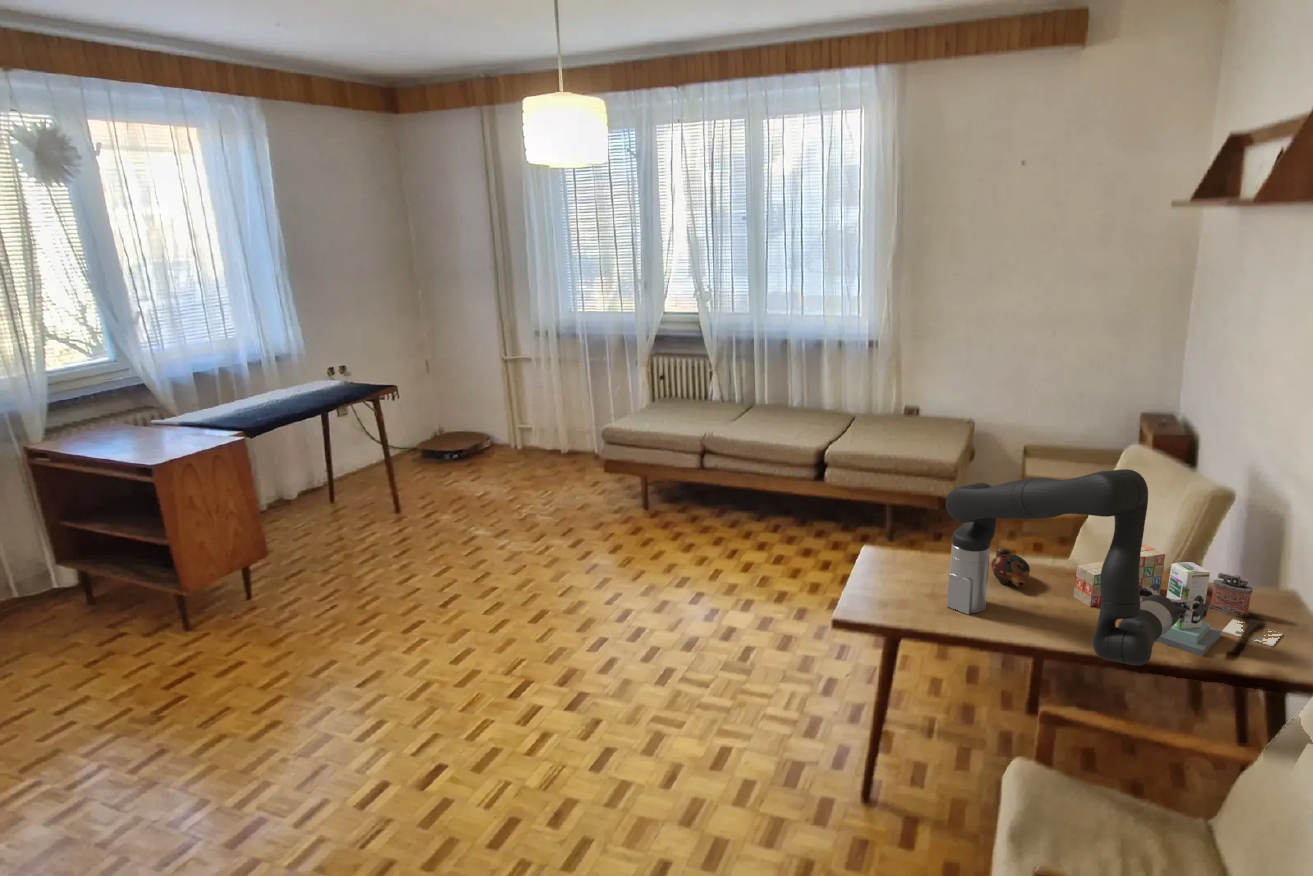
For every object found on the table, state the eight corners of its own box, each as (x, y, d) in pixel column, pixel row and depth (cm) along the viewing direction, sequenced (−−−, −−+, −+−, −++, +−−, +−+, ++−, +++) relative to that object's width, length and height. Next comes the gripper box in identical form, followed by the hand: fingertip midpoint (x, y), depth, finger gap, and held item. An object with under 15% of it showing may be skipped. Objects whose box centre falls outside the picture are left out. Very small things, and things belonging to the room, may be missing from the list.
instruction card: (1272, 647, 186) (1272, 645, 186) (1222, 631, 194) (1222, 630, 194) (1282, 634, 191) (1282, 633, 191) (1232, 620, 199) (1232, 618, 199)
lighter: (1249, 614, 201) (1255, 577, 199) (1246, 619, 199) (1253, 582, 196) (1210, 604, 207) (1216, 569, 204) (1208, 609, 204) (1213, 573, 202)
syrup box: (1161, 618, 194) (1169, 562, 190) (1185, 616, 195) (1193, 561, 191) (1178, 630, 189) (1187, 573, 185) (1202, 628, 189) (1211, 571, 185)
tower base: (1202, 656, 184) (1204, 642, 183) (1140, 635, 194) (1141, 622, 193) (1221, 636, 192) (1223, 623, 191) (1160, 617, 202) (1162, 604, 201)
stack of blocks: (1090, 608, 208) (1095, 564, 205) (1072, 597, 214) (1077, 554, 210) (1160, 596, 212) (1166, 553, 209) (1141, 586, 218) (1146, 543, 215)
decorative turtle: (1011, 568, 232) (1015, 543, 229) (1039, 595, 217) (1044, 568, 215) (978, 569, 231) (983, 543, 228) (1004, 596, 217) (1009, 569, 214)
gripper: (1191, 613, 169) (1217, 588, 179) (1119, 591, 180) (1146, 569, 190) (1187, 645, 171) (1212, 618, 181) (1115, 622, 182) (1142, 598, 192)
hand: (1178, 593), depth 186 cm, fingers open, 8 cm apart
